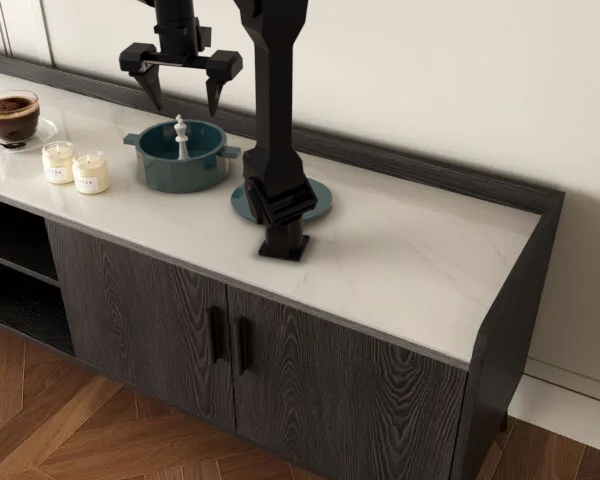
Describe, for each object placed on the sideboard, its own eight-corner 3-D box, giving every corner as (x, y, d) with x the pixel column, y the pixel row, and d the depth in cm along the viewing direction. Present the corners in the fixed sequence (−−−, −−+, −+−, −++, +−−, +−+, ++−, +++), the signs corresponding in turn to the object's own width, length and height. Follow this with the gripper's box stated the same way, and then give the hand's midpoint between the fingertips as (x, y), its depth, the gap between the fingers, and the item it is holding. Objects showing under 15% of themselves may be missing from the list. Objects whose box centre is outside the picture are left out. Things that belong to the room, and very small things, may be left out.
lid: (312, 235, 116) (312, 206, 113) (214, 218, 121) (211, 189, 118) (344, 188, 129) (345, 160, 126) (254, 174, 134) (253, 147, 131)
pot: (224, 201, 126) (222, 169, 123) (110, 184, 131) (104, 152, 127) (254, 157, 138) (253, 126, 134) (148, 143, 143) (144, 113, 139)
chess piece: (180, 177, 131) (174, 124, 125) (165, 167, 134) (158, 114, 128) (204, 168, 134) (199, 115, 128) (189, 158, 137) (183, 106, 131)
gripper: (251, 3, 118) (257, 98, 127) (141, -5, 122) (155, 88, 132) (226, 26, 109) (234, 127, 119) (109, 17, 114) (126, 114, 123)
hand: (186, 112), depth 124 cm, fingers open, 9 cm apart
